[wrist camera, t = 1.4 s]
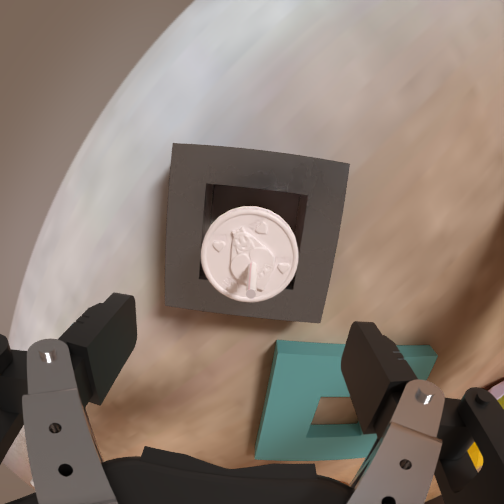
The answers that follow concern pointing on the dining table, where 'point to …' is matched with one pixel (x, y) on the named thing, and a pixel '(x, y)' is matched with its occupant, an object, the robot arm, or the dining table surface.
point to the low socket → (316, 403)
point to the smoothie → (249, 254)
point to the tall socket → (260, 177)
